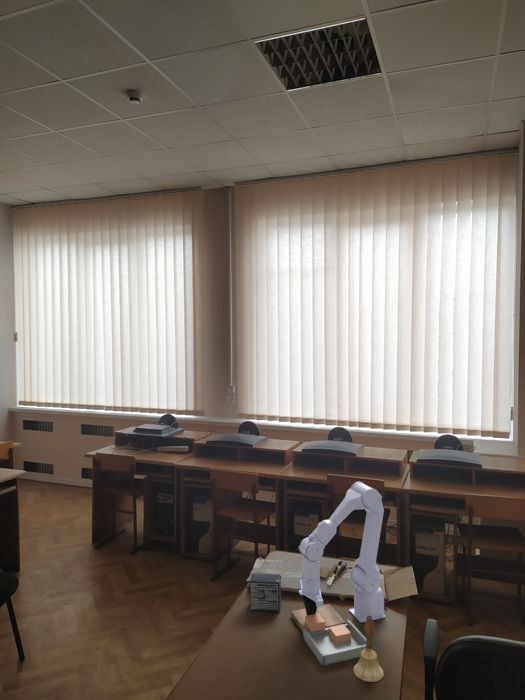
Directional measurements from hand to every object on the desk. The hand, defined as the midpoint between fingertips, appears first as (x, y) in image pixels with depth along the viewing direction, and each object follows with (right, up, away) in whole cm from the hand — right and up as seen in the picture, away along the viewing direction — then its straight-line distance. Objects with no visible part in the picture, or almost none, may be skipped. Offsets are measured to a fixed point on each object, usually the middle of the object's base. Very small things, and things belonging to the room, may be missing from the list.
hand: (310, 617), depth 165 cm
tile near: (+8, -3, -7) cm, 11 cm away
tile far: (+1, -1, -4) cm, 4 cm away
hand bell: (+14, -4, -22) cm, 27 cm away
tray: (+7, -3, -11) cm, 13 cm away
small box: (-15, -3, +12) cm, 19 cm away
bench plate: (+2, -3, +2) cm, 4 cm away
